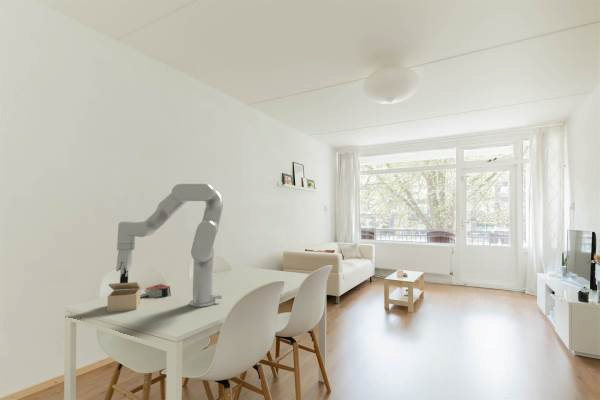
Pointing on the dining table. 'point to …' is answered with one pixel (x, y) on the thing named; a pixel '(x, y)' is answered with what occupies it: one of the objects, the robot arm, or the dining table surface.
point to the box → (123, 300)
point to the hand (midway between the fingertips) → (123, 284)
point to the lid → (125, 286)
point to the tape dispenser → (156, 291)
